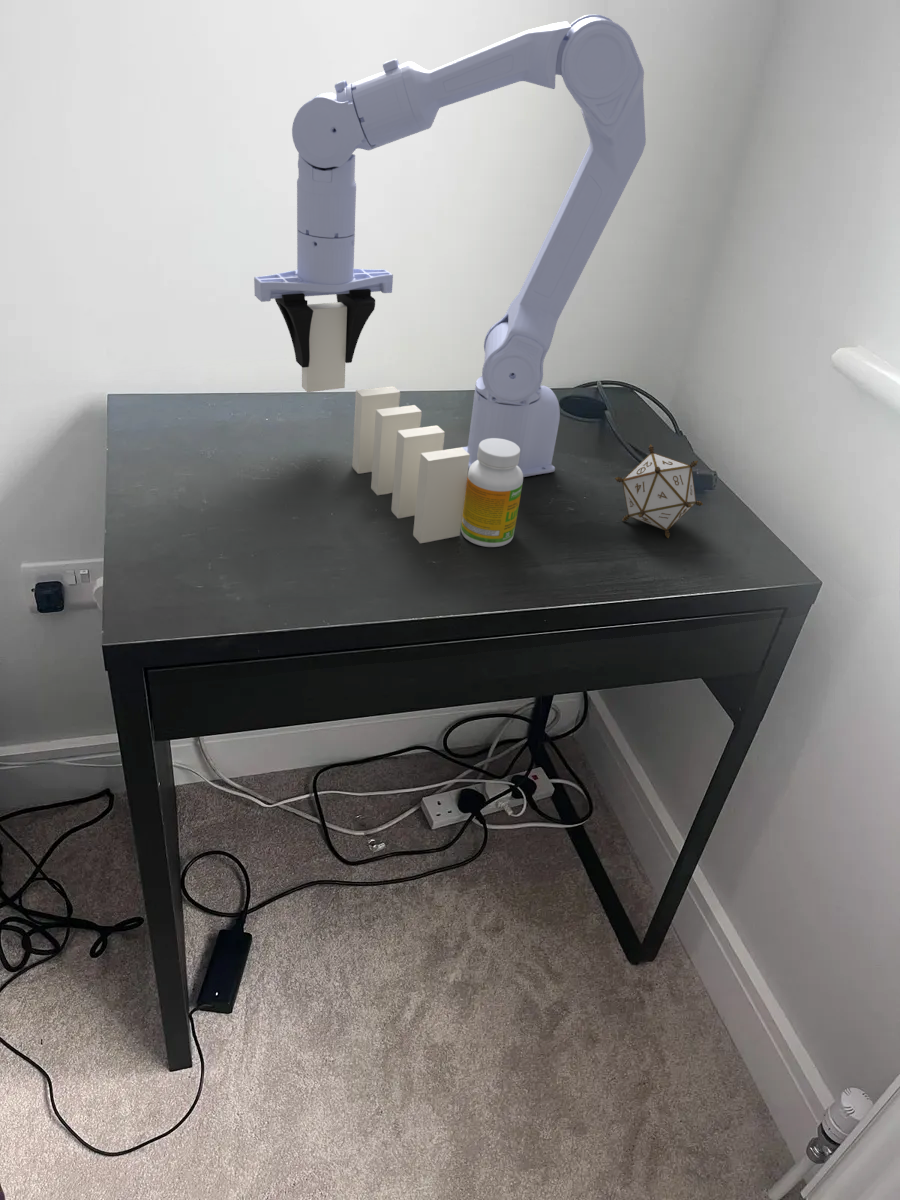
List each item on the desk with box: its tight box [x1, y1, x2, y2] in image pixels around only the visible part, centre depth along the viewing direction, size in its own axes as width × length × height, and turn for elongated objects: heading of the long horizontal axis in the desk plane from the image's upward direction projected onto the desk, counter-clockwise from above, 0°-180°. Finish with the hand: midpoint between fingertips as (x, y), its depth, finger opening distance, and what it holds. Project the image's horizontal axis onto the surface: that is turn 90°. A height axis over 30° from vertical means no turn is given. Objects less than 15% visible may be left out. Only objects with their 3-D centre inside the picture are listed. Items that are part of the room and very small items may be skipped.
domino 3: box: [370, 404, 423, 496], centre depth 95 cm, size 4×2×9 cm, turn 119°
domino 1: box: [301, 302, 347, 393], centre depth 98 cm, size 4×2×9 cm, turn 119°
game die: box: [614, 443, 704, 539], centre depth 95 cm, size 9×8×10 cm
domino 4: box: [390, 425, 446, 519], centre depth 92 cm, size 4×2×9 cm, turn 119°
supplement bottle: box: [460, 438, 524, 548], centre depth 89 cm, size 5×5×10 cm
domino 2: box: [351, 385, 401, 474], centre depth 99 cm, size 4×2×9 cm, turn 119°
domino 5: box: [412, 446, 470, 544], centre depth 88 cm, size 4×2×9 cm, turn 119°
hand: (324, 361), depth 99 cm, fingers closed on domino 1, 4 cm apart
